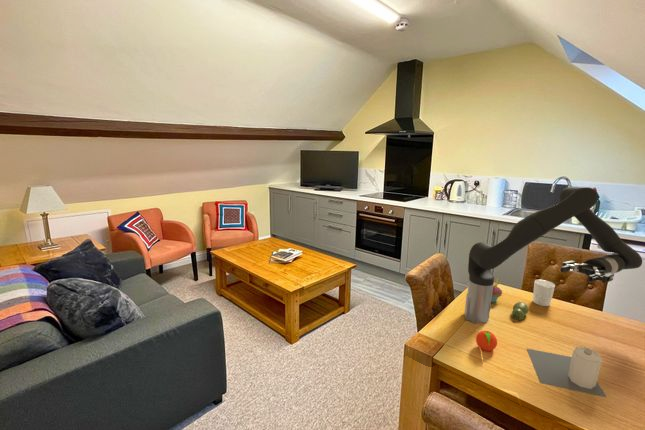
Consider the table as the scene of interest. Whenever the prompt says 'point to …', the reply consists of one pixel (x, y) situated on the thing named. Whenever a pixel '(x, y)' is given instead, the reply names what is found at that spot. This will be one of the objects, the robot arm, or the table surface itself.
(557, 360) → the mat
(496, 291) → the cupcake
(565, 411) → the table surface
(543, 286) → the white cup
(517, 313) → the pear
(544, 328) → the table surface
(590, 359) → the white lidded jar
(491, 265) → the robot arm
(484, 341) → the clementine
